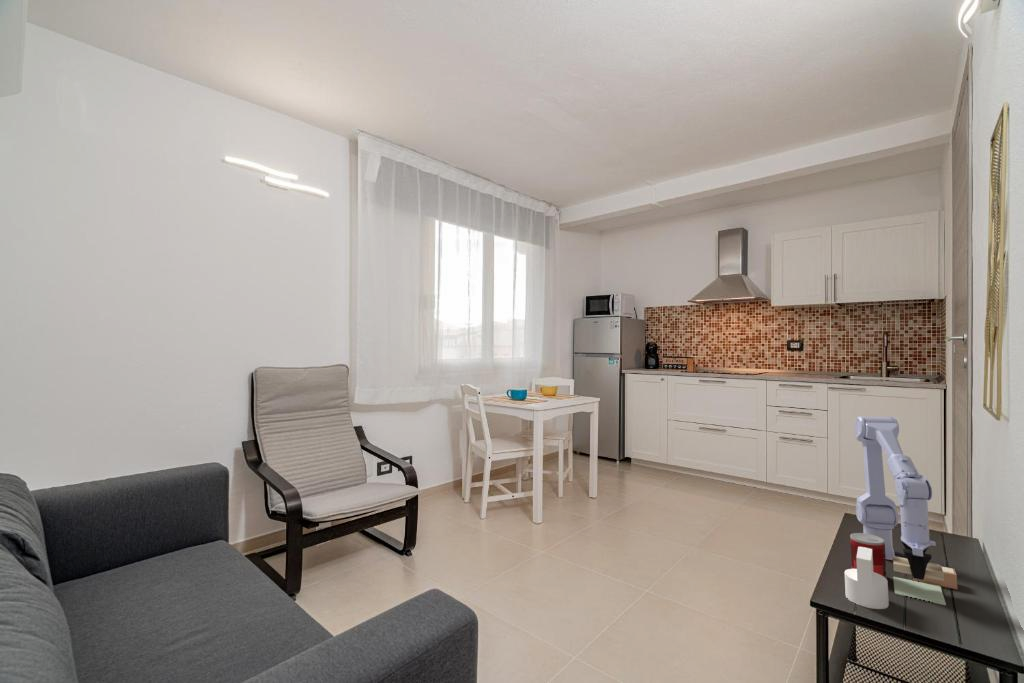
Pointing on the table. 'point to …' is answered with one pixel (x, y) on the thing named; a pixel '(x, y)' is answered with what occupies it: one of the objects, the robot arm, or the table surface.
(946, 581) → the brown and cream block
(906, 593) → the mat
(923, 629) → the table surface
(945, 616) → the table surface
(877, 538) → the canned food
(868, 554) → the cylinder with rectangular tab
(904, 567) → the beige block
